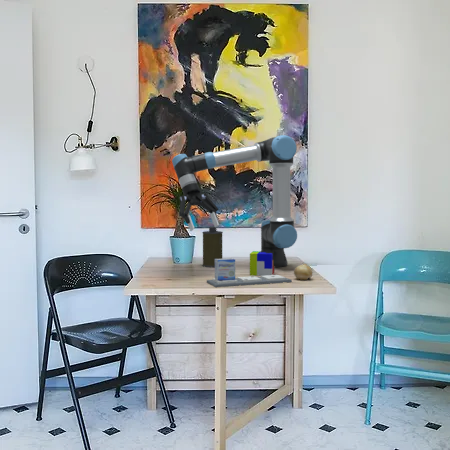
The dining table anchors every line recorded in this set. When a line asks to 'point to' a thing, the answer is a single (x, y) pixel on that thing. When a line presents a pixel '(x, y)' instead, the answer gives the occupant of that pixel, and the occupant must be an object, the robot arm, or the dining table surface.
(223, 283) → the digit board
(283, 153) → the robot arm
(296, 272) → the onion
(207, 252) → the canister
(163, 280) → the dining table surface
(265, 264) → the puzzle toy
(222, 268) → the medicine box
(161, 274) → the dining table surface
